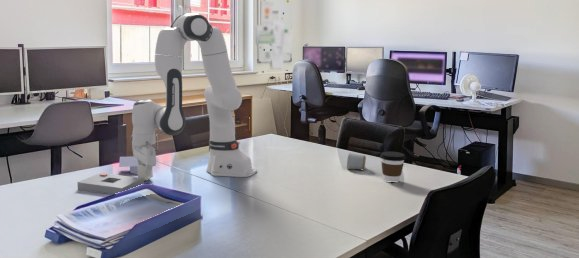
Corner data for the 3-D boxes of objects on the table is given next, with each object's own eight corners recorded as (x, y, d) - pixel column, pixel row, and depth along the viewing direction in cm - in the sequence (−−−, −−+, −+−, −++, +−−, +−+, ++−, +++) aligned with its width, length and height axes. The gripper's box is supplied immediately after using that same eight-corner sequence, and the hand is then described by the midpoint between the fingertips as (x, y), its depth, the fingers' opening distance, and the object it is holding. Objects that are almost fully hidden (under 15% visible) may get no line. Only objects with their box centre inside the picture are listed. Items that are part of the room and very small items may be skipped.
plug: (152, 179, 207) (152, 161, 206) (147, 182, 203) (146, 164, 202) (143, 178, 209) (143, 160, 207) (138, 181, 205) (137, 163, 203)
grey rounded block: (364, 172, 228) (365, 155, 226) (346, 170, 229) (347, 154, 228) (365, 166, 238) (366, 151, 237) (348, 165, 240) (349, 149, 238)
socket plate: (143, 185, 200) (143, 176, 199) (122, 195, 186) (121, 186, 186) (101, 180, 205) (100, 171, 204) (77, 189, 192) (77, 180, 191)
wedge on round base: (119, 174, 214) (150, 173, 217) (118, 159, 213) (150, 158, 216) (121, 168, 223) (151, 167, 226) (120, 154, 221) (151, 153, 224)
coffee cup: (404, 185, 208) (406, 158, 206) (378, 183, 210) (379, 156, 208) (403, 178, 219) (405, 152, 216) (378, 176, 221) (380, 150, 218)
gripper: (159, 143, 196) (160, 177, 198) (144, 134, 213) (144, 165, 215) (143, 145, 192) (144, 179, 195) (129, 135, 209) (130, 167, 212)
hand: (144, 172), depth 205 cm, fingers open, 8 cm apart
